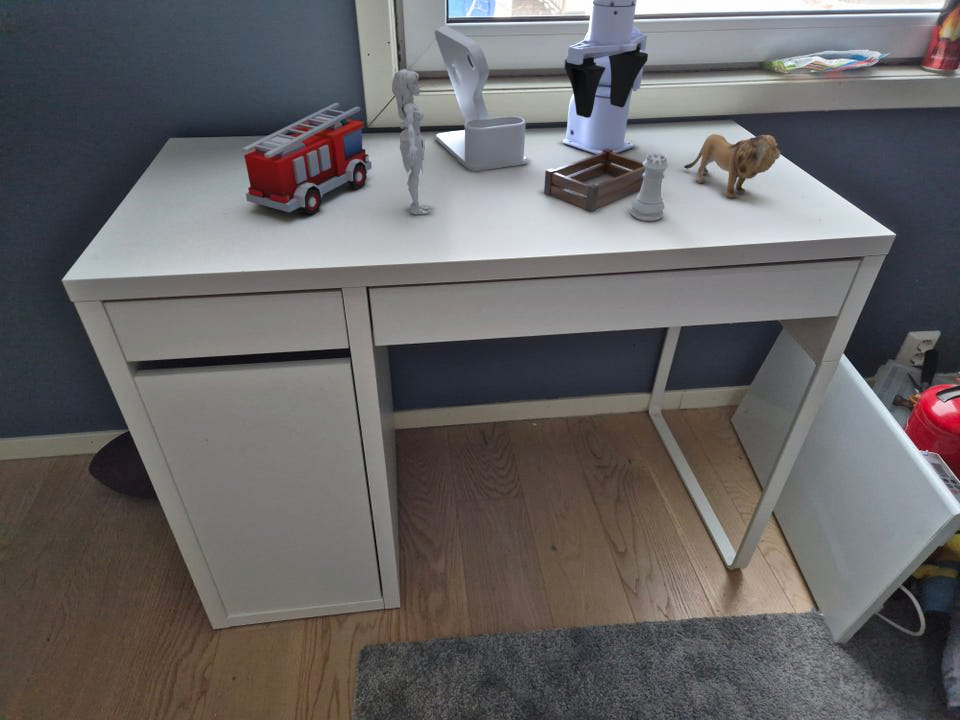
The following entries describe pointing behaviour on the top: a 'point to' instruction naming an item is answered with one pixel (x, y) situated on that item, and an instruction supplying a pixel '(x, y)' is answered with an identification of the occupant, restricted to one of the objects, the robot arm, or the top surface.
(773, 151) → the lion figurine
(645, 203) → the rook chess piece
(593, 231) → the top surface
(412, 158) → the human figurine
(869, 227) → the top surface
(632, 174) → the crate
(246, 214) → the top surface
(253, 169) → the toy fire truck
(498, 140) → the phone holder
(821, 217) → the top surface
